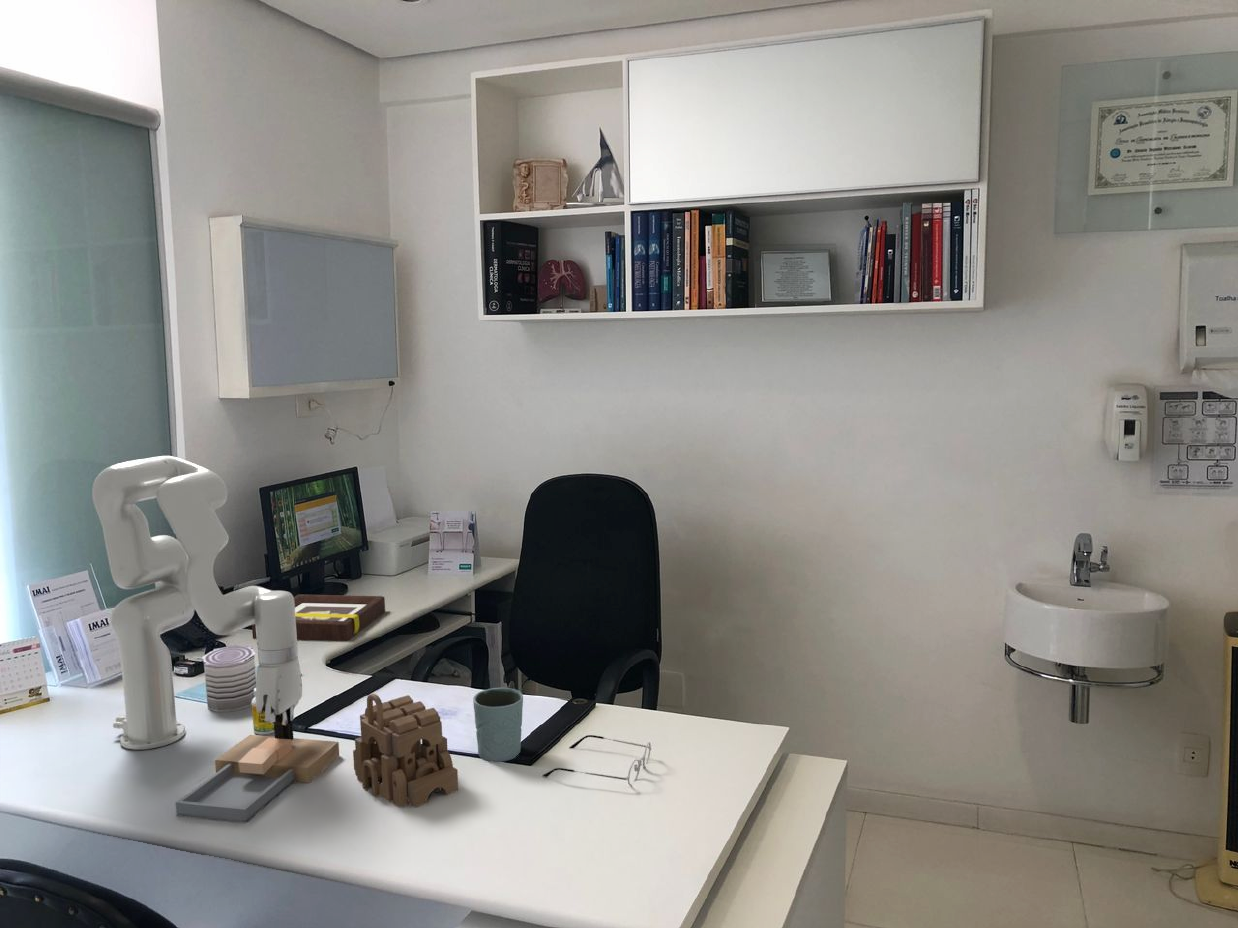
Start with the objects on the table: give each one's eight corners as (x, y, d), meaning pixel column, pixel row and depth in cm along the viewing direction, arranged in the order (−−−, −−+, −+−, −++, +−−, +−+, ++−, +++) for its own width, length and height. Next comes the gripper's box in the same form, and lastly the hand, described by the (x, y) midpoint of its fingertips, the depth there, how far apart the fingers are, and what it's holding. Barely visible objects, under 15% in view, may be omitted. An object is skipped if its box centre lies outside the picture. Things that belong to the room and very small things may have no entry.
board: (215, 774, 192) (214, 759, 192) (251, 748, 204) (250, 734, 203) (308, 782, 188) (307, 767, 187) (339, 755, 199) (338, 741, 199)
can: (267, 694, 233) (264, 646, 232) (241, 713, 222) (237, 662, 221) (224, 692, 235) (220, 644, 234) (195, 710, 224) (191, 660, 223)
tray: (176, 815, 176) (175, 802, 176) (229, 775, 191) (228, 763, 191) (246, 822, 173) (245, 809, 173) (294, 781, 188) (293, 769, 188)
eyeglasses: (631, 795, 181) (631, 770, 180) (539, 781, 188) (538, 756, 187) (658, 759, 196) (657, 735, 195) (572, 746, 202) (571, 723, 202)
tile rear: (255, 758, 192) (254, 748, 191) (269, 748, 196) (268, 737, 196) (278, 760, 191) (277, 750, 190) (292, 749, 195) (291, 739, 195)
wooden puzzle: (468, 787, 185) (464, 692, 182) (399, 814, 175) (394, 715, 173) (407, 751, 201) (402, 664, 198) (341, 774, 191) (335, 683, 189)
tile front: (239, 772, 187) (238, 762, 186) (254, 757, 192) (252, 747, 191) (263, 774, 186) (262, 763, 185) (277, 759, 191) (276, 749, 190)
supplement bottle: (276, 723, 216) (273, 681, 215) (282, 731, 212) (279, 688, 211) (251, 729, 213) (247, 686, 212) (257, 737, 209) (253, 694, 208)
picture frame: (348, 619, 271) (246, 617, 275) (349, 642, 272) (248, 639, 276) (386, 592, 299) (293, 590, 303) (387, 613, 300) (294, 611, 304)
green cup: (498, 738, 206) (496, 683, 205) (535, 749, 200) (533, 693, 199) (464, 756, 198) (462, 699, 196) (502, 768, 192) (499, 710, 191)
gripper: (281, 640, 203) (287, 725, 205) (239, 665, 188) (246, 755, 191) (314, 642, 201) (319, 727, 204) (274, 667, 187) (281, 758, 189)
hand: (284, 740), depth 197 cm, fingers closed
